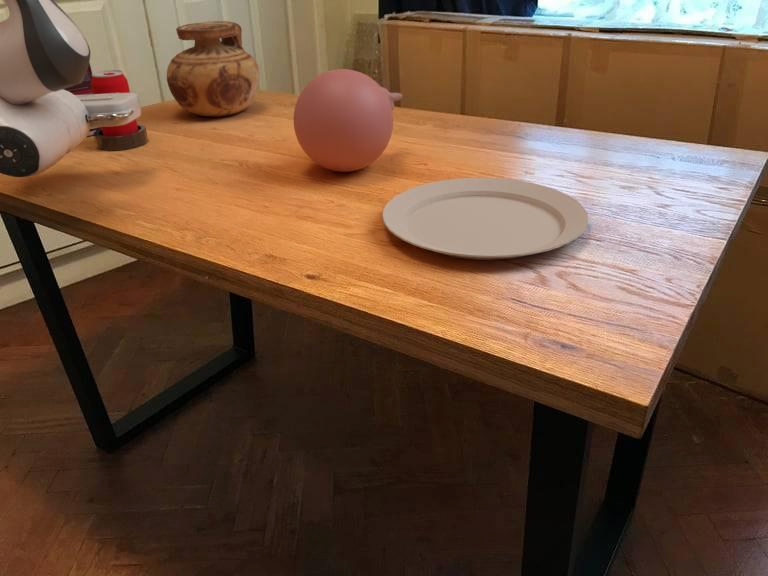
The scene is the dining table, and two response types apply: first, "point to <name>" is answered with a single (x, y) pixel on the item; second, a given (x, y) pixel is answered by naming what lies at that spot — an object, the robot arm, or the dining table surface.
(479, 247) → the plate
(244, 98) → the clay pot
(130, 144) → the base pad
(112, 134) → the beverage can
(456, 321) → the dining table surface
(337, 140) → the balloon
